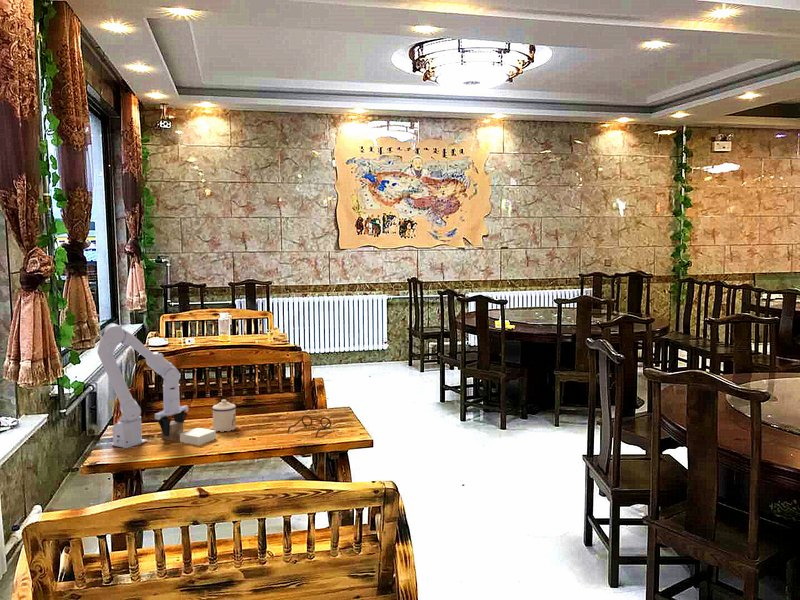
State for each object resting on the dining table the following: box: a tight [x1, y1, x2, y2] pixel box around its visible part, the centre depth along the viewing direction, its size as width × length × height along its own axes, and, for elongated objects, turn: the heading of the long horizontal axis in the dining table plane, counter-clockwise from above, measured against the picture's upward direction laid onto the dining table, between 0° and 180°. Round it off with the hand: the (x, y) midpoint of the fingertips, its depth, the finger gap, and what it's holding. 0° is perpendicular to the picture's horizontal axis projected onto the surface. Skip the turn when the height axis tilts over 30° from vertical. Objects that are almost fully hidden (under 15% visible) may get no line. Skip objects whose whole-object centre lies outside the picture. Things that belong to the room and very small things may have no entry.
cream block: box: [179, 427, 217, 446], centre depth 244 cm, size 9×9×4 cm
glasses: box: [286, 414, 332, 439], centre depth 256 cm, size 13×13×5 cm
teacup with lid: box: [211, 399, 237, 433], centre depth 260 cm, size 12×9×12 cm
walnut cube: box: [160, 420, 184, 441], centre depth 248 cm, size 6×6×6 cm
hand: (172, 433), depth 248 cm, fingers closed on walnut cube, 5 cm apart
